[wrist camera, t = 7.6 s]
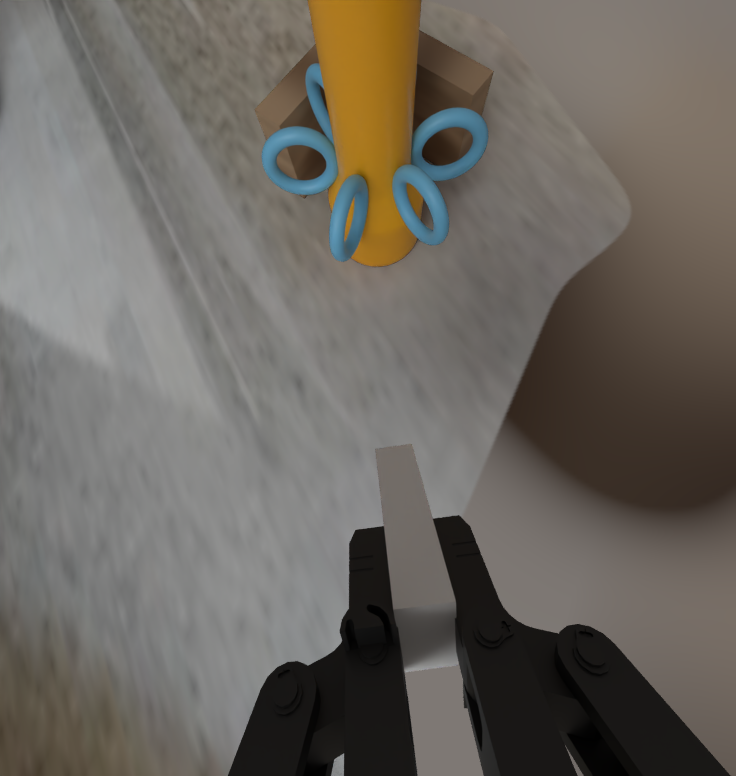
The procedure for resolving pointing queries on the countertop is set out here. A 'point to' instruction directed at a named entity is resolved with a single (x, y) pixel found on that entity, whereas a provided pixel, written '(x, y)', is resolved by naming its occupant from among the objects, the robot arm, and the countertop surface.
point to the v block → (432, 94)
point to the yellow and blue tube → (372, 132)
